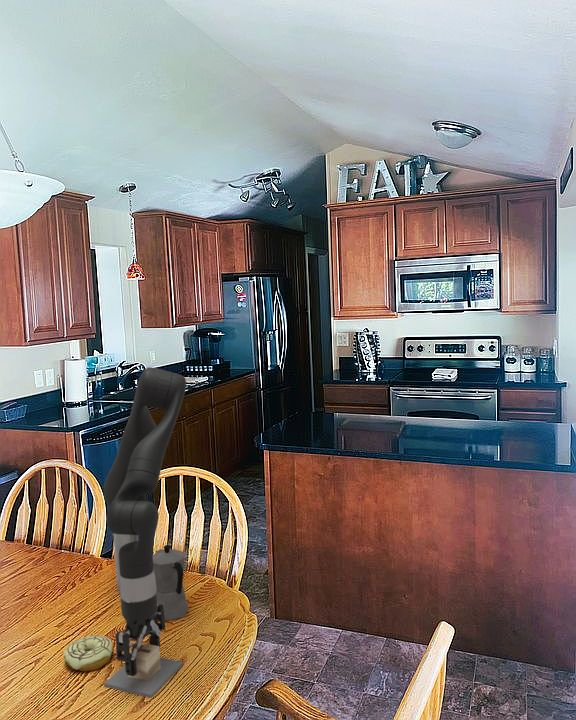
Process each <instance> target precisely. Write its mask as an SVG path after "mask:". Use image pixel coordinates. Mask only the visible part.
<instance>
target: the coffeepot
mask: <svg viewBox="0 0 576 720" xmlns="http://www.w3.org/2000/svg"><path fill="white" fill-rule="evenodd" d="M170 547H171V546H170V545H169V544H166V545H164V546H163V548H160V549H159V550H157V549H156V550H155V553H153V566H154V574H155V579H156V591H157V604H162V605H163V608H164V617H165V622H166V621H169V622H170V621H174V620H179V619H181V618H183V617H184V616H186V615H187V614H188V613H189V606H188V601H187V597H186V593H185V588H184V585H183V583H184V574H185V572H184V570H185V559H186V557H185V551H183V550H178V549H175V548H174V549H170Z"/></svg>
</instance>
